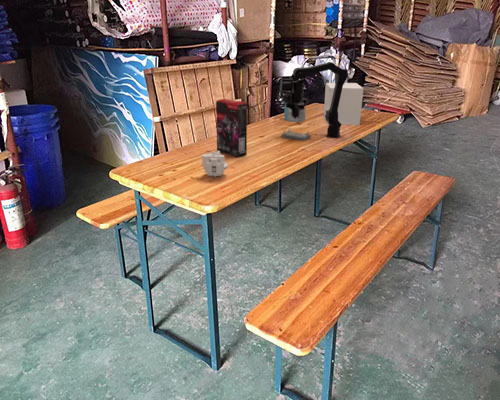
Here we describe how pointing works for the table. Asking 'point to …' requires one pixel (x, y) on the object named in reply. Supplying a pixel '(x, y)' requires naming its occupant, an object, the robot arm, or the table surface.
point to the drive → (299, 117)
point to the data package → (287, 114)
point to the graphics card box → (231, 127)
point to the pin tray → (296, 135)
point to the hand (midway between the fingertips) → (296, 117)
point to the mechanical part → (214, 163)
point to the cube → (346, 103)
